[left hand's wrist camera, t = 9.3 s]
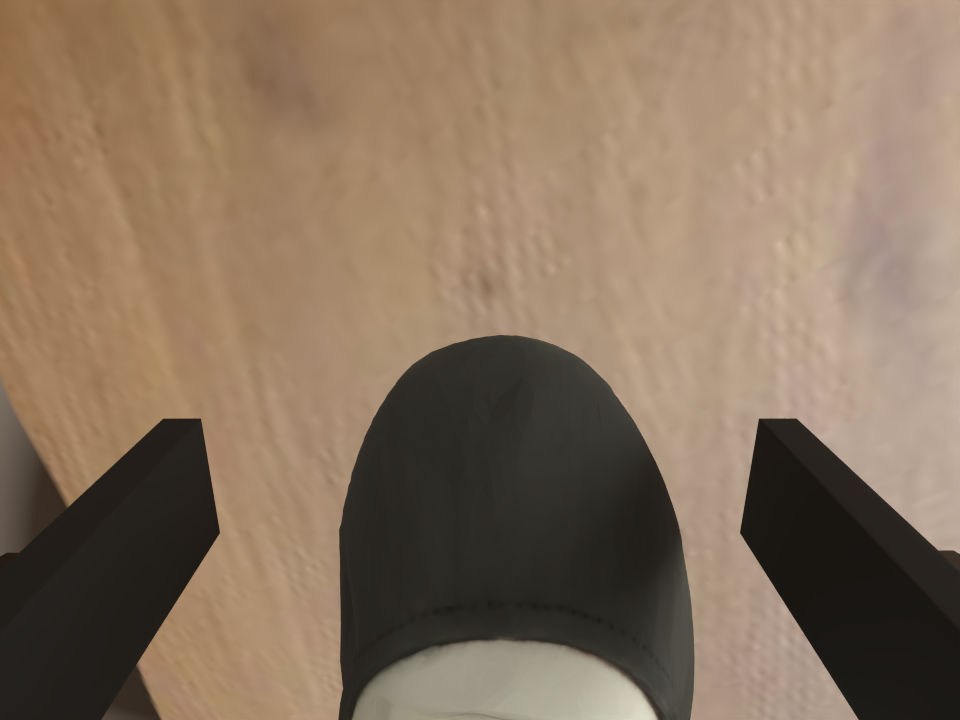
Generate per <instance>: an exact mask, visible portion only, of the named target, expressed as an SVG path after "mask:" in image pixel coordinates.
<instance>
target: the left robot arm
mask: <svg viewBox="0 0 960 720" xmlns="http://www.w3.org/2000/svg"><path fill="white" fill-rule="evenodd" d="M219 534H220V530H219V524H218V518H217V512H216V506H215V500H214V494H213V488H212V482H211V476H210V470H209V464H208V458H207V452H206V446H205V440H204V434H203V428H202V422H201V419H163V420H161V421H160V422H159V423H158V424H157V425H156V426H155V427H154V428H153V429H152V430H151V431H150V432H149V433H148V434H146V435H145V436H144V437H143V438H142V439H141V440H140V441H139V442H138V443H137V444H136V445H135V446H134V447H132V448H131V449H130V450H129V451H128V452H127V453H126V454H125V455H124V456H123V457H122V458H121V459H120V460H119V461H117V462H116V463H115V464H114V465H113V466H112V467H111V468H110V469H109V470H108V471H107V472H106V473H105V474H104V475H102V476H101V477H100V478H99V479H98V480H97V481H96V482H95V483H94V484H93V485H92V486H91V487H90V488H88V489H87V490H86V491H85V492H84V493H83V494H82V495H81V496H80V497H79V498H78V499H77V500H76V501H75V502H73V503H72V504H71V505H70V506H69V507H68V508H67V509H66V510H65V511H64V512H63V513H62V514H61V515H60V516H58V517H57V518H56V519H55V520H54V521H53V522H52V523H51V524H50V525H49V526H48V527H47V528H46V529H45V530H43V531H42V532H41V533H40V534H39V535H38V536H37V537H36V538H35V539H34V540H33V541H32V542H31V543H30V544H28V545H27V546H26V547H25V548H24V549H23V550H22V551H21V552H20V553H6V554H4V555H2V556H1V557H0V720H101V719H102V718H103V716H104V714H105V713H106V711H107V710H108V708H109V707H110V705H111V703H112V702H113V700H114V699H115V697H116V696H117V694H118V692H119V691H120V689H121V688H122V686H123V685H124V683H125V681H126V680H127V678H128V677H129V675H130V674H131V672H132V670H133V669H134V667H135V666H136V664H137V663H138V661H139V659H140V658H141V656H142V655H143V653H144V652H145V650H146V648H147V647H148V645H149V644H150V642H151V641H152V639H153V637H154V636H155V634H156V633H157V631H158V630H159V628H160V626H161V625H162V623H163V622H164V620H165V619H166V617H167V615H168V614H169V612H170V611H171V609H172V607H173V606H174V604H175V603H176V601H177V600H178V598H179V596H180V595H181V593H182V592H183V590H184V589H185V587H186V585H187V584H188V582H189V581H190V579H191V578H192V576H193V574H194V573H195V571H196V570H197V568H198V567H199V565H200V563H201V562H202V560H203V559H204V557H205V556H206V554H207V552H208V551H209V549H210V548H211V546H212V545H213V543H214V541H215V540H216V538H217V537H218V535H219ZM740 534H741V535H742V537H743V538H744V540H745V541H746V543H747V545H748V546H749V548H750V549H751V551H752V552H753V554H754V556H755V557H756V559H757V560H758V562H759V563H760V565H761V567H762V568H763V570H764V571H765V573H766V574H767V576H768V578H769V579H770V581H771V582H772V584H773V585H774V587H775V589H776V590H777V592H778V593H779V595H780V596H781V598H782V600H783V601H784V603H785V604H786V606H787V608H788V609H789V611H790V612H791V614H792V615H793V617H794V619H795V620H796V622H797V623H798V625H799V626H800V628H801V630H802V631H803V633H804V634H805V636H806V637H807V639H808V641H809V642H810V644H811V645H812V647H813V648H814V650H815V652H816V653H817V655H818V656H819V658H820V659H821V661H822V663H823V664H824V666H825V667H826V669H827V670H828V672H829V674H830V675H831V677H832V678H833V680H834V681H835V683H836V685H837V686H838V688H839V689H840V691H841V692H842V694H843V696H844V697H845V699H846V700H847V702H848V704H849V705H850V707H851V708H852V710H853V711H854V713H855V715H856V716H857V718H858V719H859V720H960V554H959V553H957V552H955V551H938V550H937V549H936V548H935V547H934V546H933V545H932V544H931V543H929V542H928V541H927V540H926V539H925V538H924V537H923V536H922V535H921V534H920V533H919V532H918V531H917V530H915V529H914V528H913V527H912V526H911V525H910V524H909V523H908V522H907V521H906V520H905V519H904V518H903V517H902V516H900V515H899V514H898V513H897V512H896V511H895V510H894V509H893V508H892V507H891V506H890V505H889V504H888V503H887V502H885V501H884V500H883V499H882V498H881V497H880V496H879V495H878V494H877V493H876V492H875V491H874V490H873V489H871V488H870V487H869V486H868V485H867V484H866V483H865V482H864V481H863V480H862V479H861V478H860V477H859V476H858V475H856V474H855V473H854V472H853V471H852V470H851V469H850V468H849V467H848V466H847V465H846V464H845V463H844V462H843V461H841V460H840V459H839V458H838V457H837V456H836V455H835V454H834V453H833V452H832V451H831V450H830V449H829V448H828V447H826V446H825V445H824V444H823V443H822V442H821V441H820V440H819V439H818V438H817V437H816V436H815V435H814V434H812V433H811V432H810V431H809V430H808V429H807V428H806V427H805V426H804V425H803V424H802V423H801V422H800V421H799V420H797V419H759V422H758V428H757V434H756V440H755V446H754V452H753V458H752V464H751V470H750V476H749V482H748V488H747V494H746V500H745V506H744V512H743V518H742V524H741V530H740Z"/></svg>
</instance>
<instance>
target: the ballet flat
mask: <svg viewBox="0 0 960 720" xmlns="http://www.w3.org/2000/svg"><path fill="white" fill-rule="evenodd" d="M339 539H340V544H339V548H340V596H341V647H340V663H341V673H342V682H343V692H342V697H341V702H340V711H339V719H338V720H690V716H691V709H692V700H693V690H694V634H693V621H692V608H691V599H690V591H689V585H688V579H687V572H686V566H685V560H684V554H683V548H682V538H681V534H680V529H679V525H678V521H677V518H676V515H675V511H674V508H673V505H672V502H671V499H670V497H669V494H668V491H667V488H666V485H665V483H664V480H663V478H662V475H661V473H660V471H659V468H658V466H657V464H656V462H655V460H654V458H653V456H652V454H651V452H650V450H649V448H648V446H647V444H646V442H645V440H644V438H643V437H642V435H641V433H640V431H639V429H638V428H637V426H636V424H635V422H634V421H633V419H632V418H631V416H630V415H629V413H628V412H627V411H626V409H625V408H624V406H623V405H622V404H621V402H620V401H619V399H618V398H617V397H616V395H615V394H614V392H613V391H612V389H611V387H610V386H609V385H608V383H607V382H606V381H605V380H604V379H602V378H601V377H600V376H599V375H598V374H597V373H596V372H595V371H594V370H593V369H592V368H591V367H590V366H589V365H588V364H587V363H585V362H584V361H583V360H582V359H580V358H579V357H577V356H576V355H574V354H572V353H570V352H568V351H566V350H564V349H562V348H560V347H558V346H555V345H553V344H550V343H547V342H544V341H540V340H537V339H532V338H527V337H522V336H508V335H497V336H489V337H482V338H475V339H470V340H467V341H464V342H459V343H454V344H452V345H449V346H447V347H444V348H441V349H439V350H436V351H433V352H431V353H430V354H428V355H426V356H425V357H423V358H422V359H420V360H419V361H417V362H416V363H414V364H413V365H412V366H411V367H410V368H409V369H408V370H407V371H406V372H405V373H404V374H403V375H402V376H401V378H400V379H399V380H398V381H397V383H396V385H395V386H394V387H393V388H392V390H391V391H390V392H389V394H388V395H387V397H386V399H385V400H384V402H383V403H382V405H381V406H380V408H379V410H378V412H377V414H376V415H375V417H374V418H373V421H372V423H371V426H370V428H369V429H368V431H367V433H366V436H365V438H364V441H363V444H362V446H361V449H360V451H359V454H358V457H357V460H356V463H355V466H354V469H353V472H352V476H351V482H350V484H349V486H348V493H347V496H346V500H345V504H344V508H343V517H342V523H341V526H340V529H339Z"/></svg>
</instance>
